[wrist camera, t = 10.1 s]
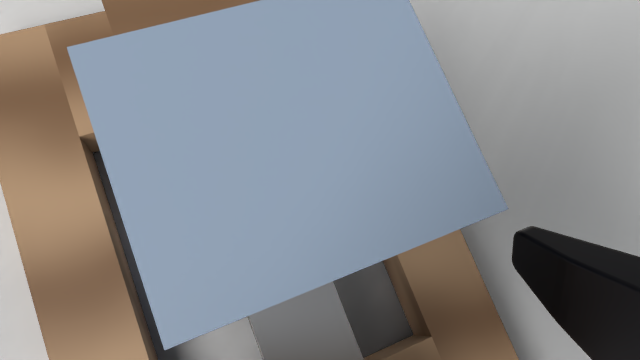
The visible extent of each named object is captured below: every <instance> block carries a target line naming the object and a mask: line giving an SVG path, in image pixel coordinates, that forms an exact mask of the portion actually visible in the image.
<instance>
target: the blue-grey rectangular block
mask: <svg viewBox="0 0 640 360" xmlns="http://www.w3.org/2000/svg"><path fill="white" fill-rule="evenodd" d="M67 50H68V53H69V56H70V59H71V62H72V65H73V69H74V72H75V75H76V78H77V81H78V84H79V87H80V90H81V93H82V96H83V100H84V103H85V106H86V109H87V112H88V115H89V118H90V121H91V124H92V127H93V131H94V134H95V137H96V140H97V143H98V146H99V149H100V152H101V155H102V158H103V162H104V165H105V168H106V171H107V174H108V177H109V180H110V183H111V186H112V189H113V193H114V196H115V199H116V202H117V205H118V208H119V211H120V214H121V217H122V220H123V224H124V227H125V230H126V233H127V236H128V239H129V242H130V245H131V248H132V251H133V255H134V258H135V261H136V264H137V267H138V270H139V273H140V276H141V279H142V282H143V286H144V289H145V292H146V295H147V298H148V301H149V304H150V307H151V310H152V313H153V317H154V320H155V323H156V326H157V329H158V332H159V335H160V338H161V341H162V344H163V348H164V350H167V349H169V348H172V347H174V346H176V345H179V344H181V343H184V342H186V341H189V340H191V339H193V338H196V337H198V336H201V335H203V334H206V333H208V332H211V331H213V330H215V329H218V328H220V327H223V326H225V325H228V324H230V323H232V322H235V321H237V320H240V319H242V318H245V317H247V316H249V315H252V314H254V313H257V312H259V311H262V310H264V309H266V308H269V307H271V306H274V305H276V304H279V303H281V302H284V301H286V300H288V299H291V298H293V297H296V296H298V295H301V294H303V293H305V292H308V291H310V290H313V289H315V288H318V287H320V286H322V285H325V284H327V283H330V282H332V281H335V280H337V279H339V278H342V277H344V276H347V275H349V274H352V273H354V272H357V271H359V270H361V269H364V268H366V267H369V266H371V265H374V264H376V263H378V262H381V261H383V260H386V259H388V258H391V257H393V256H395V255H398V254H400V253H403V252H405V251H408V250H410V249H412V248H415V247H417V246H420V245H422V244H425V243H427V242H430V241H432V240H434V239H437V238H439V237H442V236H444V235H447V234H449V233H451V232H454V231H456V230H459V229H461V228H464V227H466V226H468V225H471V224H473V223H476V222H478V221H481V220H483V219H485V218H488V217H490V216H493V215H495V214H498V213H500V212H503V211H505V210H507V209H508V207H507V205H506V203H505V201H504V198H503V196H502V194H501V192H500V190H499V188H498V186H497V184H496V182H495V180H494V178H493V175H492V173H491V171H490V169H489V167H488V165H487V163H486V161H485V159H484V157H483V154H482V152H481V150H480V148H479V146H478V144H477V142H476V140H475V138H474V136H473V134H472V131H471V129H470V127H469V125H468V123H467V121H466V119H465V117H464V115H463V113H462V110H461V108H460V106H459V104H458V102H457V100H456V98H455V96H454V94H453V92H452V89H451V87H450V85H449V83H448V81H447V79H446V77H445V75H444V73H443V71H442V69H441V66H440V64H439V62H438V60H437V58H436V56H435V54H434V52H433V50H432V48H431V45H430V43H429V41H428V39H427V37H426V35H425V33H424V31H423V29H422V27H421V24H420V22H419V20H418V18H417V16H416V14H415V12H414V10H413V8H412V6H411V4H410V1H409V0H260V1H256V2H251V3H247V4H243V5H239V6H235V7H231V8H227V9H222V10H218V11H214V12H210V13H206V14H202V15H198V16H194V17H189V18H185V19H181V20H177V21H173V22H169V23H165V24H160V25H156V26H152V27H148V28H144V29H140V30H136V31H131V32H127V33H123V34H119V35H115V36H111V37H107V38H103V39H98V40H94V41H90V42H86V43H82V44H78V45H74V46H69V47H67Z"/></svg>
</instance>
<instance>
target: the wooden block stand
mask: <svg viewBox="0 0 640 360" xmlns="http://www.w3.org/2000/svg"><path fill="white" fill-rule="evenodd" d="M256 1H260V0H102V3H103V6H104V9H105V11H103V12H98V13H94V14H89V15H85V16H80V17H76V18H72V19H67V20H63V21H58V22H54V23H49V24H45V25H41V26H36V27H32V28H27V29H23V30H18V31H14V32H9V33H5V34H1V35H0V183H1V186H2V190H3V194H4V197H5V201H6V205H7V208H8V212H9V216H10V219H11V223H12V226H13V230H14V234H15V237H16V241H17V245H18V248H19V252H20V256H21V259H22V263H23V266H24V270H25V274H26V277H27V281H28V285H29V288H30V292H31V296H32V299H33V303H34V306H35V310H36V314H37V317H38V321H39V325H40V328H41V332H42V336H43V339H44V343H45V346H46V350H47V354H48V357H49V360H158V358H157V355H156V352H155V348H154V345H153V342H152V339H151V336H150V333H149V329H148V326H147V323H146V320H145V317H144V314H143V310H142V307H141V304H140V301H139V298H138V295H137V291H136V288H135V285H134V282H133V279H132V276H131V272H130V269H129V266H128V263H127V260H126V257H125V253H124V250H123V247H122V244H121V241H120V238H119V234H118V231H117V228H116V225H115V222H114V219H113V215H112V212H111V209H110V206H109V203H108V200H107V196H106V193H105V190H104V187H103V184H102V181H101V177H100V174H99V171H98V168H97V165H96V162H95V158H94V155H93V153H94V152H97V151H100V149H99V146H98V143H97V140H96V137H95V134H94V131H93V127H92V124H91V121H90V118H89V115H88V112H87V109H86V106H85V103H84V100H83V96H82V93H81V90H80V87H79V84H78V81H77V78H76V75H75V72H74V69H73V65H72V62H71V59H70V56H69V53H68V50H67V47H69V46H74V45H78V44H82V43H86V42H90V41H94V40H98V39H103V38H107V37H111V36H115V35H119V34H123V33H127V32H131V31H136V30H140V29H144V28H148V27H152V26H156V25H160V24H165V23H169V22H173V21H177V20H181V19H185V18H189V17H194V16H198V15H202V14H206V13H210V12H214V11H218V10H222V9H227V8H231V7H235V6H239V5H243V4H247V3H251V2H256ZM383 263H384V265H385V267H386V270H387V272H388V275H389V277H390V279H391V282H392V284H393V287H394V289H395V291H396V294H397V296H398V299H399V301H400V303H401V306H402V308H403V311H404V313H405V315H406V318H407V320H408V323H409V325H410V328H411V330H412V332H413V335H412V336H410V337H408V338H406V339H404V340H402V341H399V342H397V343H395V344H393V345H391V346H389V347H386V348H384V349H382V350H380V351H378V352H375V353H373V354H371V355H369V356H367V357H365V358H363V356H362V354H361V351H360V349H359V346H358V344H357V341H356V339H355V336H354V333H353V331H352V328H351V326H350V323H349V321H348V318H347V316H346V313H345V311H344V308H343V305H342V303H341V300H340V298H339V295H338V293H337V290H336V288H335V285H334V283H333V281H332V282H330V283H327V284H325V285H322V286H320V287H318V288H315V289H313V290H310V291H308V292H305V293H303V294H301V295H298V296H296V297H293V298H291V299H288V300H286V301H284V302H281V303H279V304H276V305H274V306H271V307H269V308H266V309H264V310H262V311H259V312H257V313H254V314H252V315H249V316H248V319H249V322H250V325H251V328H252V330H253V333H254V336H255V339H256V342H257V344H258V347H259V350H260V353H261V356H262V359H263V360H519V359H518V357H517V355H516V352H515V350H514V348H513V346H512V343H511V341H510V339H509V337H508V335H507V332H506V330H505V328H504V326H503V323H502V321H501V319H500V317H499V315H498V312H497V310H496V308H495V306H494V304H493V301H492V299H491V297H490V295H489V292H488V290H487V288H486V286H485V284H484V281H483V279H482V277H481V275H480V272H479V270H478V268H477V266H476V264H475V261H474V259H473V257H472V255H471V253H470V250H469V248H468V246H467V244H466V241H465V239H464V237H463V235H462V233H461V230H460V229H459V230H456V231H454V232H451V233H449V234H447V235H444V236H442V237H439V238H437V239H434V240H432V241H430V242H427V243H425V244H422V245H420V246H417V247H415V248H412V249H410V250H408V251H405V252H403V253H400V254H398V255H395V256H393V257H391V258H388V259H386V260H383Z"/></svg>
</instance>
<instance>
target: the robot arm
mask: <svg viewBox="0 0 640 360" xmlns="http://www.w3.org/2000/svg"><path fill="white" fill-rule="evenodd" d="M512 262H513V265H514V267H515V269H516V270H517V272H518V273H519V274H520V276H521V277H522V278H523V279H524V281H525V282H526V283H527V285H528V286H529V287H530V288H531V290H532V291H533V292H534V294H535V295H536V296H537V298H538V299H539V300H540V301H541V303H542V304H543V305H544V307H545V308H546V309H547V310H548V312H549V313H550V314H551V315H552V317H553V318H554V319H555V320H556V321H557V323H558V324H559V325H560V326H561V327H562V328H563V329H564V330H565V331H566V333H567V334H568V335H569V336H570V337H571V338H572V339H573V340H574V341H575V342H576V343H577V344H578V345H579V346H580V347H581V348H582V349H583V350H584V352H585V353H586V354H587V355H588V356H589V357H590V358H591V359H592V360H640V257H638V256H634V255H631V254H628V253H624V252H621V251H617V250H614V249H610V248H607V247H603V246H600V245H597V244H593V243H590V242H586V241H583V240H579V239H576V238H572V237H569V236H566V235H562V234H559V233H555V232H552V231H548V230H545V229H541V228H538V227H534V226H530V227H527V228H524V229H522V230H520V231H517V232H516V233H515V235H514V240H513V251H512Z"/></svg>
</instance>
